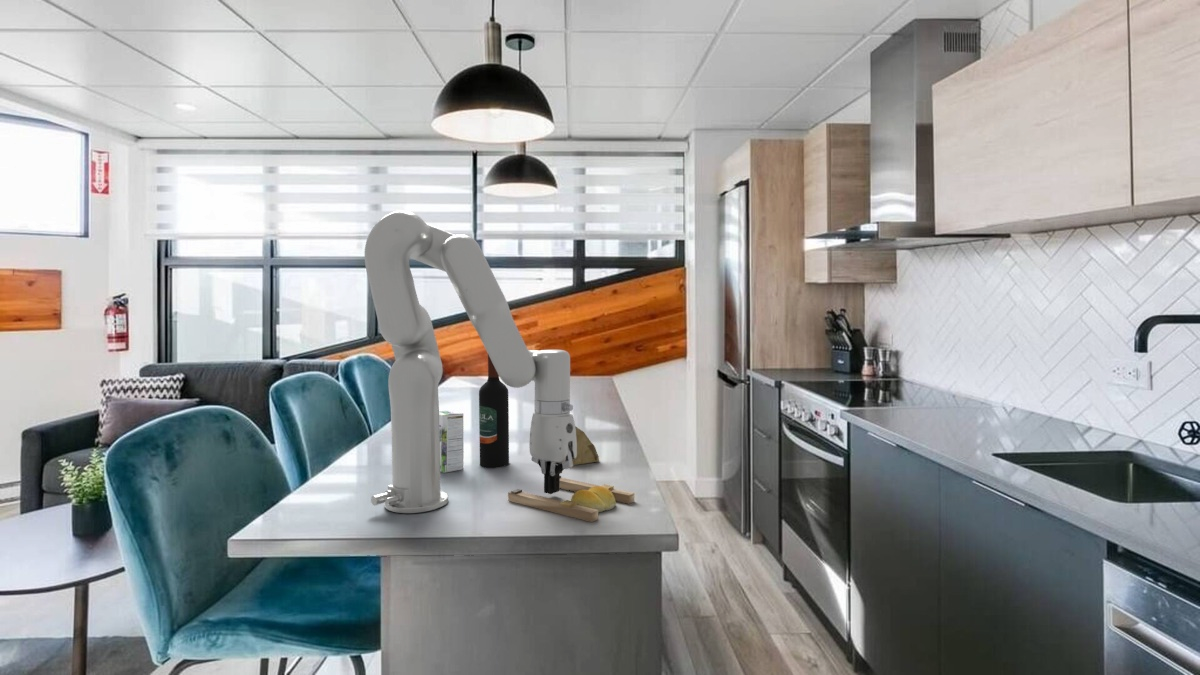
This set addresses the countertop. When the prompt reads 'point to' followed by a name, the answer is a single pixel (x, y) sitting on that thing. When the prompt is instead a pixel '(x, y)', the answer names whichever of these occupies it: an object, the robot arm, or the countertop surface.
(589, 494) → the bread roll
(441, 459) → the syrup box
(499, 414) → the wine bottle
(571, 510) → the slot rails
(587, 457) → the rock
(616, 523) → the countertop surface
